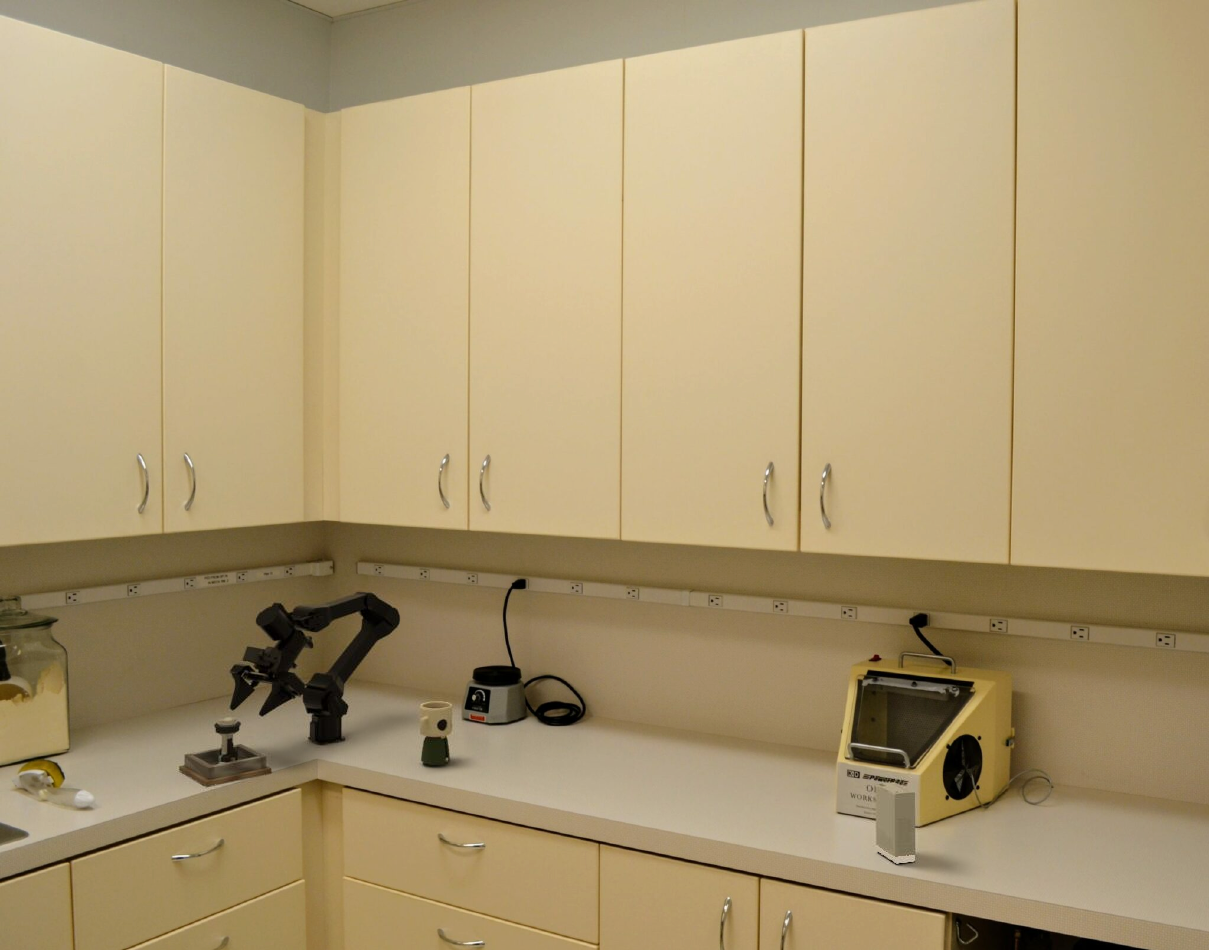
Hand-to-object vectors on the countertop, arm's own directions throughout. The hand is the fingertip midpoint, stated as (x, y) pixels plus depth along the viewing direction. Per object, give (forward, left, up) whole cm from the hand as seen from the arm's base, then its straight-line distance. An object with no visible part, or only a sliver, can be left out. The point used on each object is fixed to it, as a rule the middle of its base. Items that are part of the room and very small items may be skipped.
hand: (245, 712), depth 223 cm
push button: (+5, +1, -11) cm, 12 cm away
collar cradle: (+5, +1, -12) cm, 13 cm away
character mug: (-32, +25, -12) cm, 43 cm away
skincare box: (-61, +121, -12) cm, 136 cm away
